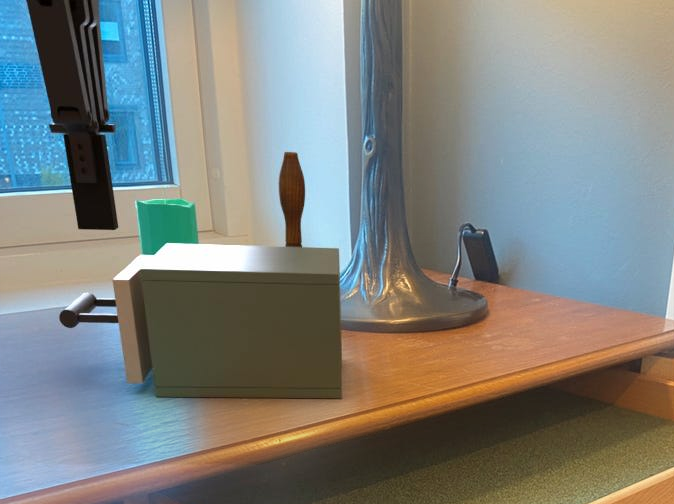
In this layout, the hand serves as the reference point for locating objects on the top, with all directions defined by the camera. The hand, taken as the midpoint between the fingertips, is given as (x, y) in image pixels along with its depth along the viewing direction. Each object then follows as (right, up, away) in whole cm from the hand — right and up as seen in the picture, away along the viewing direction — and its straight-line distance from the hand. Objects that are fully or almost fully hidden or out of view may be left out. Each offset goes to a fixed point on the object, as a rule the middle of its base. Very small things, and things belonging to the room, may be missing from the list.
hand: (98, 228), depth 75 cm
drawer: (+5, -9, +6) cm, 12 cm away
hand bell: (+11, +1, +26) cm, 28 cm away
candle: (-3, +4, +30) cm, 31 cm away
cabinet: (+11, -10, +7) cm, 16 cm away
